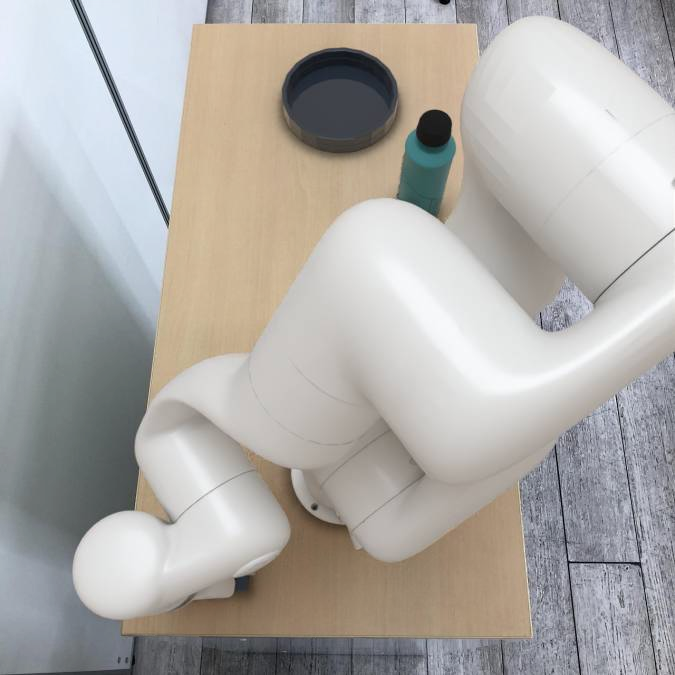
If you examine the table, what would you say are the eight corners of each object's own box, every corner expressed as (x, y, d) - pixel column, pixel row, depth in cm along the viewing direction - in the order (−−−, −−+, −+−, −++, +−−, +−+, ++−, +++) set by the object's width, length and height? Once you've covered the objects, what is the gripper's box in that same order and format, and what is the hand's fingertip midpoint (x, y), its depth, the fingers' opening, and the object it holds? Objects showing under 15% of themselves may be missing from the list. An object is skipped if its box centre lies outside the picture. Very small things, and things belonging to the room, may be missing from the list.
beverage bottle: (439, 196, 92) (465, 99, 73) (437, 236, 90) (463, 146, 71) (395, 192, 92) (409, 95, 74) (391, 232, 90) (406, 141, 71)
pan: (414, 133, 96) (417, 117, 93) (308, 169, 94) (307, 154, 90) (369, 51, 102) (370, 34, 98) (268, 84, 99) (265, 67, 96)
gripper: (60, 613, 54) (125, 606, 71) (255, 612, 54) (273, 605, 71) (73, 523, 57) (133, 536, 74) (259, 522, 57) (275, 536, 74)
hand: (201, 570), depth 72 cm, fingers closed on block, 4 cm apart
